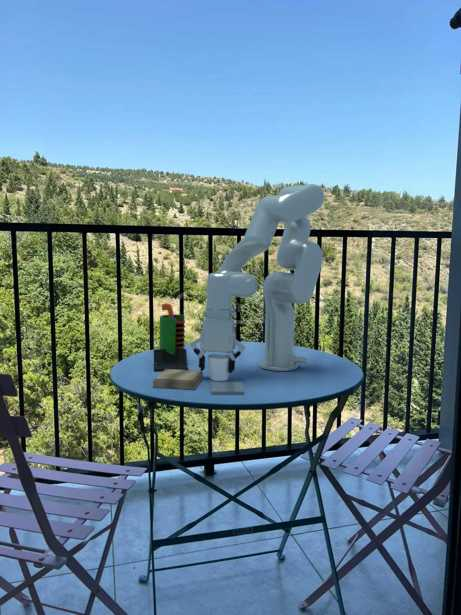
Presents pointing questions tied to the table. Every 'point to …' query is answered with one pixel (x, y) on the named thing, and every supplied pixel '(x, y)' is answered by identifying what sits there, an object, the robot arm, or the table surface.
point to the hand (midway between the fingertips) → (216, 371)
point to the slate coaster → (227, 388)
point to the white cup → (219, 367)
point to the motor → (171, 330)
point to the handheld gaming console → (170, 360)
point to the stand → (178, 379)
